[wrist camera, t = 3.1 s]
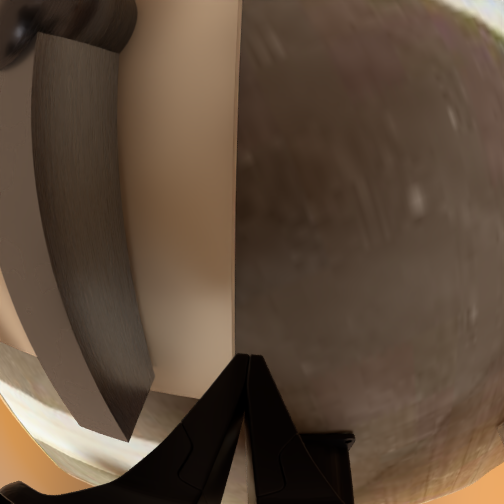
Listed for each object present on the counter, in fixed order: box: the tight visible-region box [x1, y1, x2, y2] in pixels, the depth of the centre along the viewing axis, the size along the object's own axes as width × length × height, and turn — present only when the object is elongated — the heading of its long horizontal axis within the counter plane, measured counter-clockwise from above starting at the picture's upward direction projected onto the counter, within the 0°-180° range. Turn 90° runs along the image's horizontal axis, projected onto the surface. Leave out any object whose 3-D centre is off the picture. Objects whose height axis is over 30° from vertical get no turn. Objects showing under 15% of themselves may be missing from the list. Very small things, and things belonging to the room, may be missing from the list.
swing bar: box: [0, 0, 155, 442], centre depth 7 cm, size 17×4×4 cm, turn 178°
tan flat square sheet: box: [0, 0, 242, 399], centre depth 10 cm, size 22×22×1 cm
